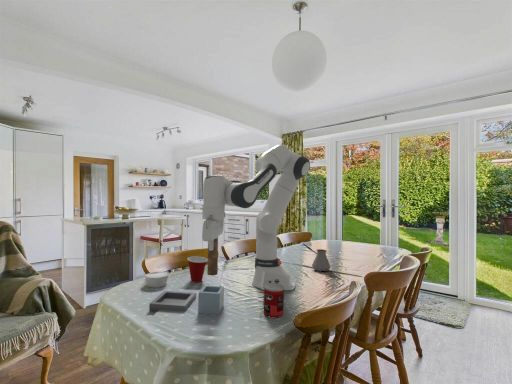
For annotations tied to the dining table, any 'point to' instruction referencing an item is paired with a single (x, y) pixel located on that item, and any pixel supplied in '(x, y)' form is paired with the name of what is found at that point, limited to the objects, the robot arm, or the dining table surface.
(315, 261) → the coffee pot
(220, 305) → the grey square bin
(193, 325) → the dining table surface
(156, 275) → the ramekin
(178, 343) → the dining table surface
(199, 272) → the plastic cup
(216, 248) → the walnut dowel
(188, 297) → the tray
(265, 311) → the canned food
